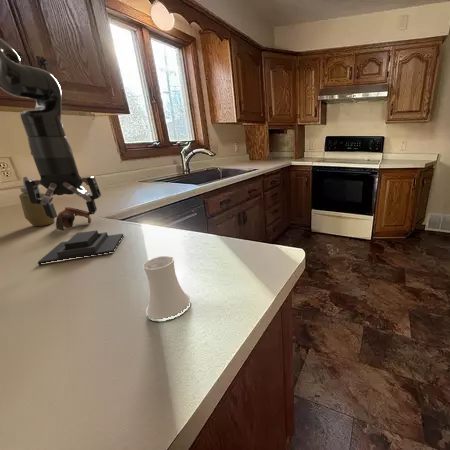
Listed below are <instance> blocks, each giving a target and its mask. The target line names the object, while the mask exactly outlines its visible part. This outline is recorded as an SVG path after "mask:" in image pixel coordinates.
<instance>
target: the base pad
mask: <svg viewBox="0 0 450 450" xmlns="http://www.w3.org/2000/svg"><path fill="white" fill-rule="evenodd" d="M98 234H99V238H98V239H97V240H96V241H95V243H94V244H93V245H92V246H90V247H83V248H76V249H69V250H66V248H65V245H64V244H65V243H66V242H67V241H68V240H66V241H61V242H59V243H58V245H56V246H55V247H54V248H52V249H51V250H50V251H49V252H48V253H47V254H45V255H44V256H43V257H42V258H40V259H39V260H38V261H37V264H41V263H46V262H51V261H57V260H63V259H69V258H76V257H84V256H91V255H98V254H104V253H109V252H113V251H114V249H115V248H116V246H117V245H118V243H119V241H120V240H121V238H122V237H123V235H124V233H118V234H111V235H110V234H109V235H108V232H106V231H105V232H98ZM123 238H124V237H123ZM121 241H122V240H121ZM119 244H120V243H119ZM118 246H119V245H118ZM116 249H117V248H116ZM114 252H115V251H114Z"/></svg>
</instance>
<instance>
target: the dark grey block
mask: <svg viewBox="0 0 450 450" xmlns="http://www.w3.org/2000/svg"><path fill="white" fill-rule="evenodd" d="M98 233H99V231H98V229H96V230H89V231H82V232H81V231H80V232H76V233H75V234H74V235H73V236H72V237H71V238H69V239H68V240H66V241H67V242H66V241H65V242H66V243H65V244H64V245H65V248H66V250H69V249H76V248H83V247H90V246H92V245H93V244H94V243H95V241H96V240H97V239H98V238H99V234H98Z"/></svg>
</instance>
